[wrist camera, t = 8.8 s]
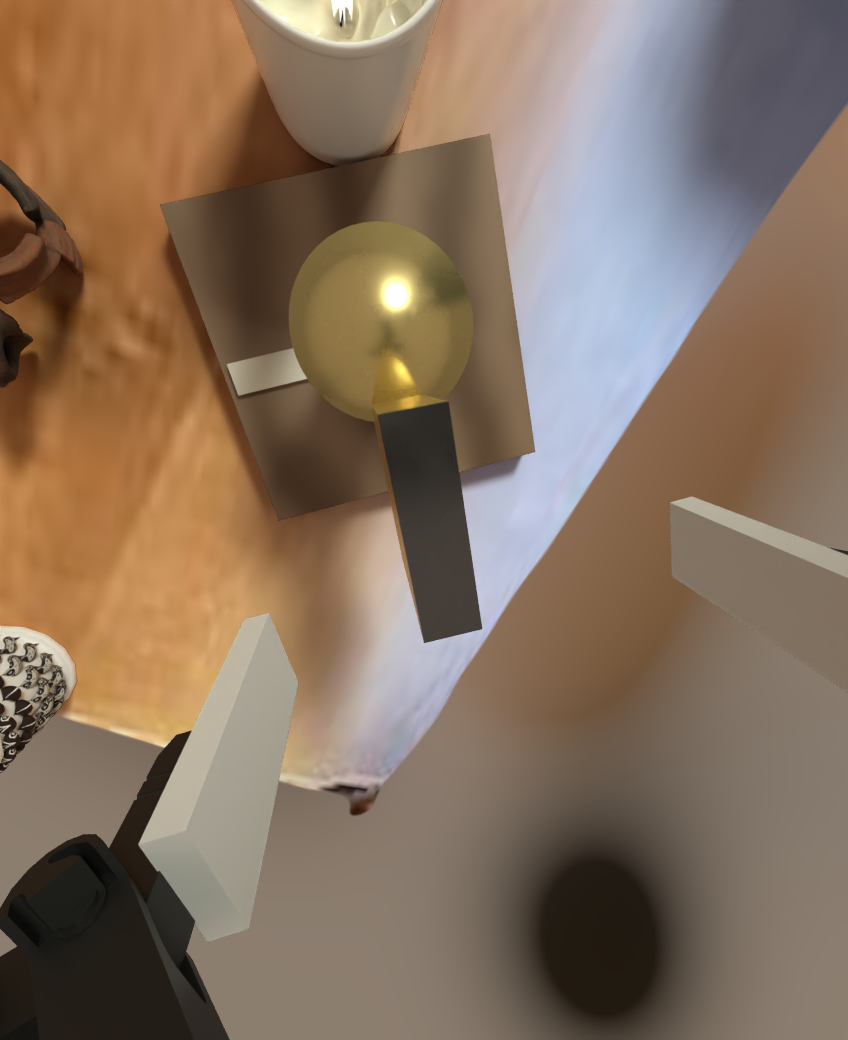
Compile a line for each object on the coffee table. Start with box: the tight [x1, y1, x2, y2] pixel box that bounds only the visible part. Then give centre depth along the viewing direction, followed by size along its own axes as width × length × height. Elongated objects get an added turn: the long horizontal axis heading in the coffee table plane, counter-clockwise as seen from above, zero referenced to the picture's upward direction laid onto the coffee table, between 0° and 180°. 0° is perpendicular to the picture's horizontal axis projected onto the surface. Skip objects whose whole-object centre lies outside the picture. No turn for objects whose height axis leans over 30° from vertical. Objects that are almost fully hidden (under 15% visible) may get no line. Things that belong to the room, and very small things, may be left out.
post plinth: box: [160, 134, 535, 521], centre depth 26 cm, size 20×20×10 cm
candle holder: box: [231, 0, 443, 166], centre depth 20 cm, size 10×10×12 cm
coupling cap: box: [289, 221, 482, 643], centre depth 18 cm, size 16×8×8 cm, turn 10°
